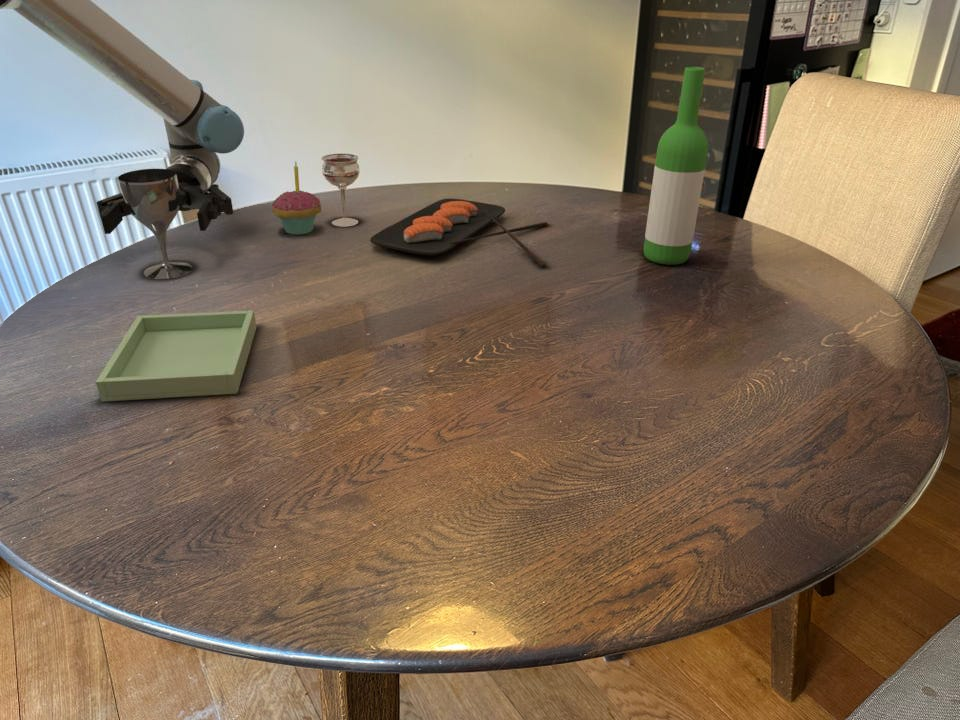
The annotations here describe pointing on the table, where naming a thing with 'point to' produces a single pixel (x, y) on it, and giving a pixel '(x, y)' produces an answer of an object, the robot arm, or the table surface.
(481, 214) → the sushi plate
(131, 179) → the wine glass
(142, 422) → the table surface
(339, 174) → the wineglass
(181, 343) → the tray
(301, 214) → the cupcake
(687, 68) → the wine bottle
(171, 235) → the table surface
